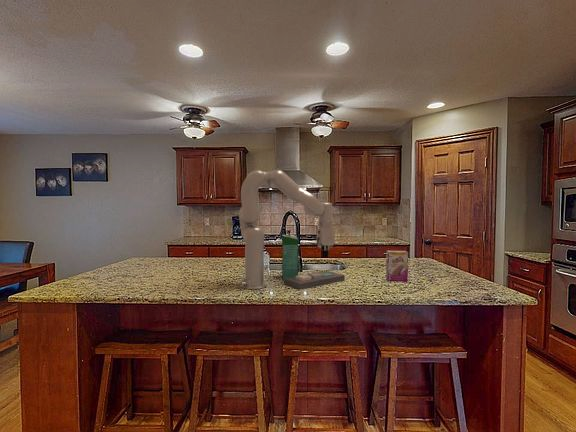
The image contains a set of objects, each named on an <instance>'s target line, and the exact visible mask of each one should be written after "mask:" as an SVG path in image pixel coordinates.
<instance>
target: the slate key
mask: <svg viewBox="0 0 576 432" xmlns="http://www.w3.org/2000/svg"><path fill="white" fill-rule="evenodd" d="M306 275H308V276H311V278H313V279H316V278H321V277H323V274H319V273H318V272H311V273H309V272H308V273H307V274H306Z"/></svg>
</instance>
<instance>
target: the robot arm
mask: <svg viewBox="0 0 576 432" xmlns="http://www.w3.org/2000/svg"><path fill="white" fill-rule="evenodd" d="M245 177H246V178H245V179H244V181H243V183H242V185H241V188H240V189H241V190H240V200H241V208H240V209H239V213H238V217H239V218H238V219H239V227H240V233H241V238H243V240H244V241H245V246H244V266H245V267H244V272H245V273H244V277H243V278H242V279H241V280H238V281H236V285H237V286H239V285H240V286H241V287H242V288H244V289H247V290H260V289H265V288H267V284H268V283H266V282H264V281H265V280H264V278H265V277H264V275H265V274H264V273H265V272H264V269H265V268H264V250H265V249H264V248H265V247H264V246H265V233H264V230H263V229H262V228H261V227H260V226H258V221H259V220H260V217H261V213H260V212H261V210H260V206H259V205H260V203H259V194H258V193H259V189H260V188H273V187H274V188H275V187H276V188H277V190H279V191H281V193H283V194H284V196H286V197H287V199H290V200H291V201H294V202H296V203H299V204H301V205H302V206H303V211H304V213H305V214H306V215H308V216H310V217H318V223H317V226H318V227H317V231H316V244H317V248H319V249H320V250H321V252H322V253H321V255H322V258H324V259H326V258H329V251H330V248H331V247H333V246H334V245H335V242H336V240H335V236H336V235H335V230H334V229H335V228H334V226H333V204H332V203H331V202H321V201H320V200H319V199H318V198H317V197H316V196H315V195H313V194H312V193H310V192H309V191H307V190H306V189H305V188H303V187H301V186H300V185H299V184H297V183H296V182H295V181H294V180H293V179H292V178H291V177H290V176H289V175H288V174H287V173H286V172H284V171H283V170H282V169H281V170H280V169H275V170H272V171H271V170H270V171H262V170H259V169H256V170H253V171H251V172H249V173H248V174H247V175H246V176H245Z"/></svg>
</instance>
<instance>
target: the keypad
mask: <svg viewBox="0 0 576 432" xmlns="http://www.w3.org/2000/svg"><path fill="white" fill-rule="evenodd" d="M317 273H319V274H321V273H329V274H333V275H332V276H327V277H324V276H323V277H321V278H316V279H313V278H311V280H305V281H301V280H298V279H296V276H295V277H290V278H284V279H283V285H285V286H287V287H288V286H289V287H291V288H294V289H297V290H299V291H301V290H305V289H311V288H316V287H320V286H324V285H331V284H334V283H340V282H344V281H345V279H346V278H345V277H346V276H345V275H344V274H341V273H336V272H332V271H329V270H325V271H320V272H318V271H317Z"/></svg>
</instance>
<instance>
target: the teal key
mask: <svg viewBox="0 0 576 432" xmlns="http://www.w3.org/2000/svg"><path fill="white" fill-rule="evenodd" d="M321 274H323V276H324V277H327V276H332V275H333V274H329V273H321Z"/></svg>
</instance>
